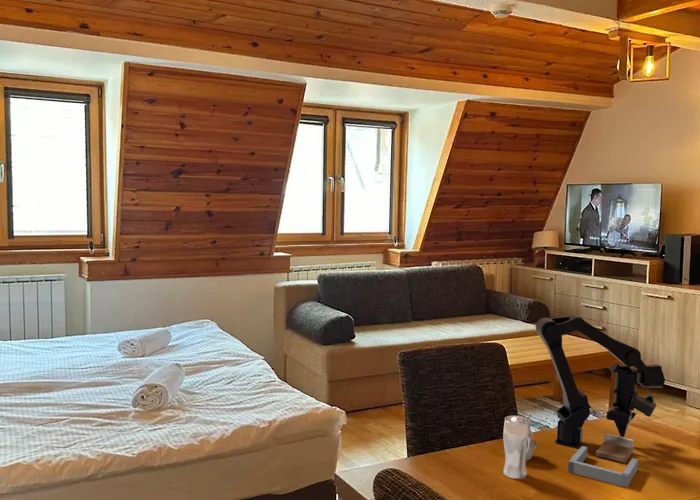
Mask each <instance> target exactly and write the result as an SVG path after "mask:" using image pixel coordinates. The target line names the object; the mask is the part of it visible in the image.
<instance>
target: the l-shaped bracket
mask: <svg viewBox="0 0 700 500" xmlns="http://www.w3.org/2000/svg"><path fill="white" fill-rule="evenodd" d="M634 440H635V439H631V438H627V437H625V436H624V437H621V436H620V435H615V434H610V433H604V434H603V441H602V444H601V445H600V446H599V447H598V448H597V450H596V451H595V456H596V458H604V459H609V460H613V461H617V462H620V463H621V464H626V463H627V461H628V460H629V459H630V457H631V455H632V454H633V452H634V442H635V441H634Z"/></svg>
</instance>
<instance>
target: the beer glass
mask: <svg viewBox="0 0 700 500" xmlns="http://www.w3.org/2000/svg"><path fill="white" fill-rule="evenodd" d="M503 424H504V425H503V433H502V437H503V440H502V441H503V448H504V456H505V458H504V459H505V461H504V466H503V470H502V473H503V475H504V476H505V477H507V478H510V479H512V480H523V479H525V478H527V476H528V475H527V474H528V473H527V465H526V462H527V461H526V457H527V453H528V449H529V444H530V430H531V420H530V419H529V418H527V417H525V416H520V415H508V416H505V417H504V423H503Z"/></svg>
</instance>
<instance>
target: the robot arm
mask: <svg viewBox="0 0 700 500" xmlns="http://www.w3.org/2000/svg"><path fill="white" fill-rule="evenodd" d="M535 331H536V332H537V335H539V338H540V339H541V341H542V342H543V343H544V345H545V347H546V348H547V350H548V353H549V355H550V360H551V361H552V363H553V367H554V370H555V373H556V375H557V379H558V380H559V383H560V387H561V389H562V401H563V405H561V407H560V408H558V409H557V410H556V412H555V413H556V415H557V419H559V420H558V421H557V428H556V429H557V431H556V432H557V433H556V439H555V440H554V443H556V444H559V445H564V446H567V447H571V448H576V449H577V448H578V447H579V446H580V445H581V444H582V443H583V438H584V437H583V435H584V433H583V432H584V429H583V426H584V424H585V421H586V420H587V419H588V418H589V416H590V415H591V410H590V409H592V406H591V405H590V403H589V399H588V395H587V394H586V393H585V392H584V391H582V390H581V389H578V388H577V384H576V381H575V379H574V376H573V373H572V371H571V368H570V365H569V363H568V360H567V357H566V354H565V352H564V348H563V336H566V335H569V334H571V333H573V332H575V331H577V332H579V333H581V334H582V335H584V336H586V337H587V338H589V339H590V340H592V341H593V342H595V343H597V344H599V346H601V347H603V348H605V349H606V351H608V352H609V353H610V354H611V355H612V356H613V357H614V358H616V360H617V361H619V362H621V363H622V364H623V365H620V364H618V363H617V362H615V363H614V364H612V365H611V366H609V368H608V370H610V371H612V372H613V373H615V386H614V388H613V394H614V400H613V402H612V407H611V408H609V409H608V411H607V412H606V420H608V421H613V423H614V424H615V426H616V428H617V431H618V434H619V437H624V438H625V436H626V434H627V430H628V427H629V424H630V422H631V421H632V420H633V419H634V418H635V416H636V415H637V413H636V412H635V410H636V411H638V412H640V413H642V414H644V416H646V417H648V418H650V417H651V416H652V414H653V413H654V411H655V410H656V408H657V402H655V397H654V396H653V395H650V394H648V395H647V396H642V395H639V390H638V389H637V384H638V385H639V386H640V387H642V388H659V389H661V388H663V387H664V386H665V381H666V379H665V375H664V372H663V370H662V369H663V366H661V365H660V364H646V363H644V361H643V359H642V354H641V351H640V350H639V349H638V348H636V347H634V346H632V345H631V344H628V343H625V342H623V341H621V340H619V339H616V338H613V337H611V336H609V335H608V334H607V333H605V332H603V331H602V330H600V329H598V328H596V327H595V326H593V325H592V324H590V323H589V322H587V321H585V320H584V319H583V318H582V317H581V316H579V315H576V314H572V315H569V316H568V315H567V316H560V317H559V316H558V317H553V318H549V317H541V318H540V319H538V321H536V324H535ZM632 367H634V368H632ZM633 411H634V412H633Z"/></svg>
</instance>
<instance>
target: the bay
mask: <svg viewBox="0 0 700 500" xmlns="http://www.w3.org/2000/svg"><path fill="white" fill-rule="evenodd" d="M587 458H588V446H584V445H581V446H580V448H579V449H578V450H577V451H576V452H575V453H574V454H573V456H572V457H571V458H570V459H569V460H568V463H567V472H568V473H571V474H575V475H579V476H582V477H586V478H590V479H593V480H597V481H600V482H601V481H602V482H605V483H607V484H612V485H616V486H620V487H623V488H628V487H629V485H630V483H631V482H632V480H633V478H634V476H635V475H636V474H637V471H638V470H639V469H638V467H639V459H638V458H633V457H632V458H631V459H630V461H629V462H628V464H627V466H626V468H624V471H623V472H621V471H618V470H613V469H609V468H605V467H600V466H598V465H593V464H590V463H585V462H584V461H585V460H587Z"/></svg>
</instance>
